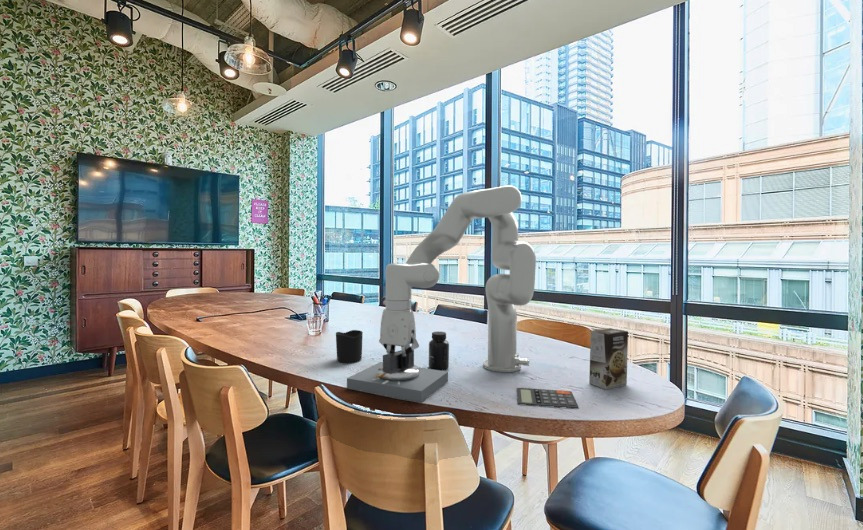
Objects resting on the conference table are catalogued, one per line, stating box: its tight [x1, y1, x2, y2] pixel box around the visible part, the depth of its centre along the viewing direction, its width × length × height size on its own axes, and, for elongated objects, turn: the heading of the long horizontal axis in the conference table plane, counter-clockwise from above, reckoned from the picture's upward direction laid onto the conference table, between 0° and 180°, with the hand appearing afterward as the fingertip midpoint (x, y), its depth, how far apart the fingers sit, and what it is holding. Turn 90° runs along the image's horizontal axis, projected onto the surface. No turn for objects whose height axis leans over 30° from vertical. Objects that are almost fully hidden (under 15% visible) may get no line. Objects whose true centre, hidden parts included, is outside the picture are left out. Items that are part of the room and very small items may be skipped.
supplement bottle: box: [428, 331, 450, 371], centre depth 134 cm, size 7×7×12 cm
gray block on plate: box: [376, 349, 420, 381], centre depth 117 cm, size 14×12×6 cm
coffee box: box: [588, 327, 629, 390], centre depth 118 cm, size 9×6×16 cm
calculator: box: [516, 387, 580, 409], centre depth 108 cm, size 12×1×15 cm
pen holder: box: [335, 329, 363, 364], centre depth 143 cm, size 9×9×10 cm
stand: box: [346, 361, 449, 403], centre depth 118 cm, size 24×18×3 cm
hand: (398, 366), depth 117 cm, fingers closed on gray block on plate, 3 cm apart
